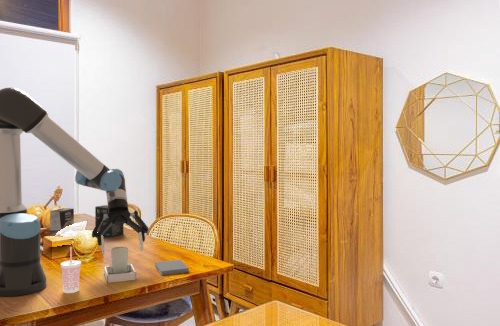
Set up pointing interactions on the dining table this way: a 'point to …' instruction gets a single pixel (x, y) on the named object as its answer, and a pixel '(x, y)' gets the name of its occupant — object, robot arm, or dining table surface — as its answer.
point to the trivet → (171, 267)
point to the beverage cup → (71, 274)
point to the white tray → (119, 276)
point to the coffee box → (60, 219)
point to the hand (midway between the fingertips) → (122, 250)
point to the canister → (119, 260)
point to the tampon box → (114, 228)
